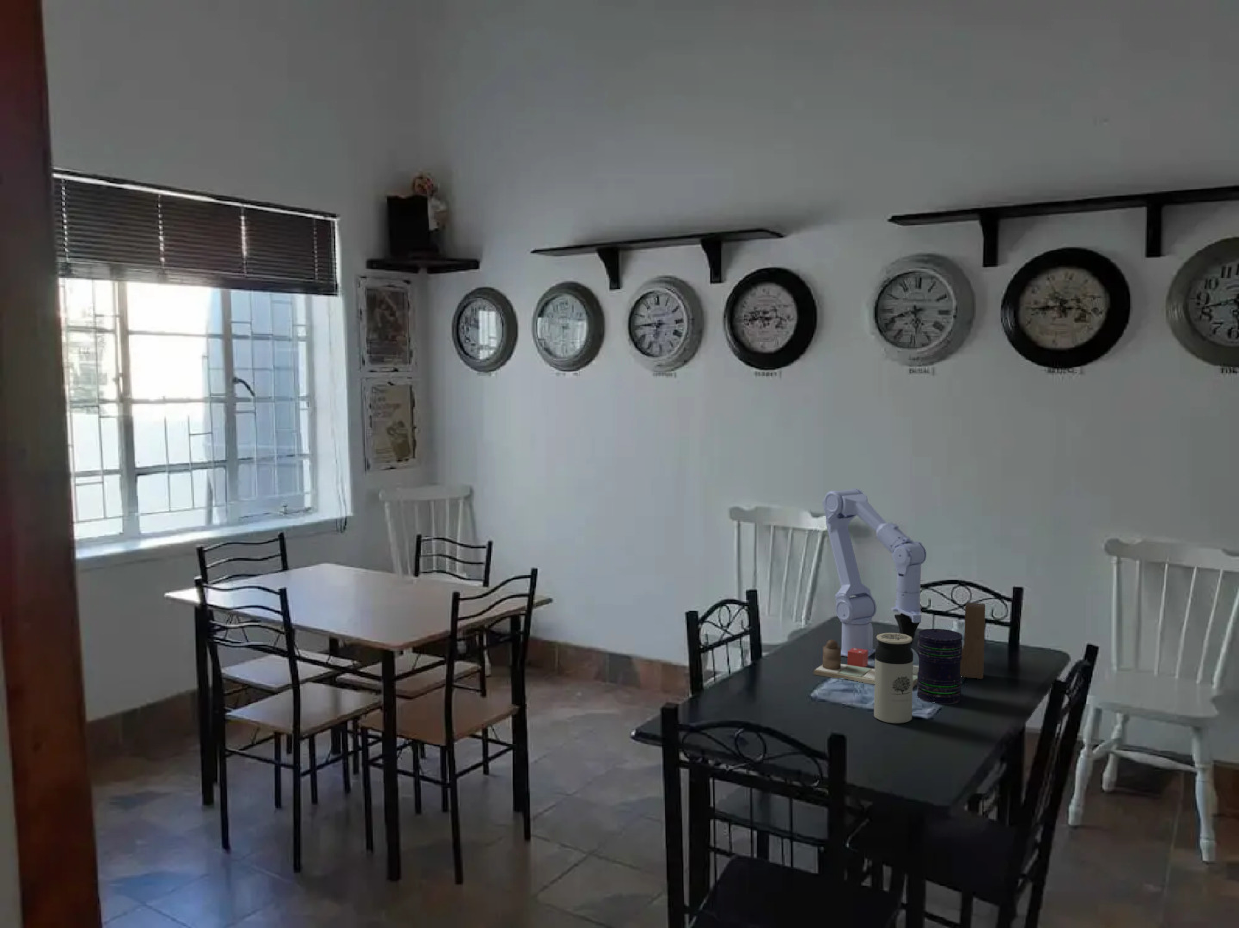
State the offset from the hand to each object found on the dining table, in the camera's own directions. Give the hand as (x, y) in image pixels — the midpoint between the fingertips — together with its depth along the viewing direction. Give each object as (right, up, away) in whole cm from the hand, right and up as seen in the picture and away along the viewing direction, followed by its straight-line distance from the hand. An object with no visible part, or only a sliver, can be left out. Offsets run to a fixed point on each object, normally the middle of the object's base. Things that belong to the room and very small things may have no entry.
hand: (907, 643), depth 249 cm
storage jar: (+2, -9, -19) cm, 21 cm away
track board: (-11, -8, -4) cm, 14 cm away
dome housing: (0, -7, +1) cm, 7 cm away
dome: (0, -6, +1) cm, 6 cm away
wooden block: (+13, -8, -3) cm, 15 cm away
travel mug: (-13, -10, -33) cm, 36 cm away
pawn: (-19, -6, +1) cm, 20 cm away
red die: (-11, -7, +5) cm, 14 cm away
